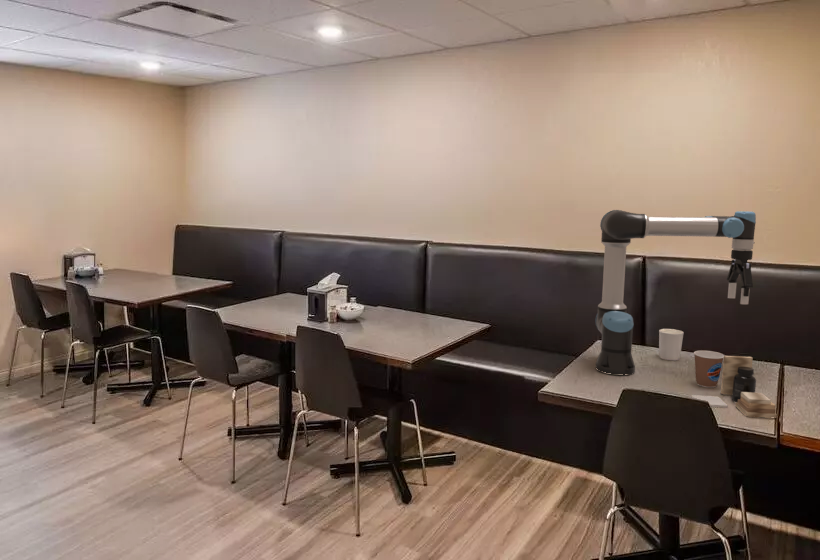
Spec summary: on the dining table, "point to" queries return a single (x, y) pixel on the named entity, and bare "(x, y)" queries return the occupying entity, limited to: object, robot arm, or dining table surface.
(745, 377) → the supplement bottle
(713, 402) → the grey pad
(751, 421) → the dining table surface
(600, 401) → the dining table surface
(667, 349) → the white paper cup
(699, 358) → the coffee cup
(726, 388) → the set of wooden blocks
